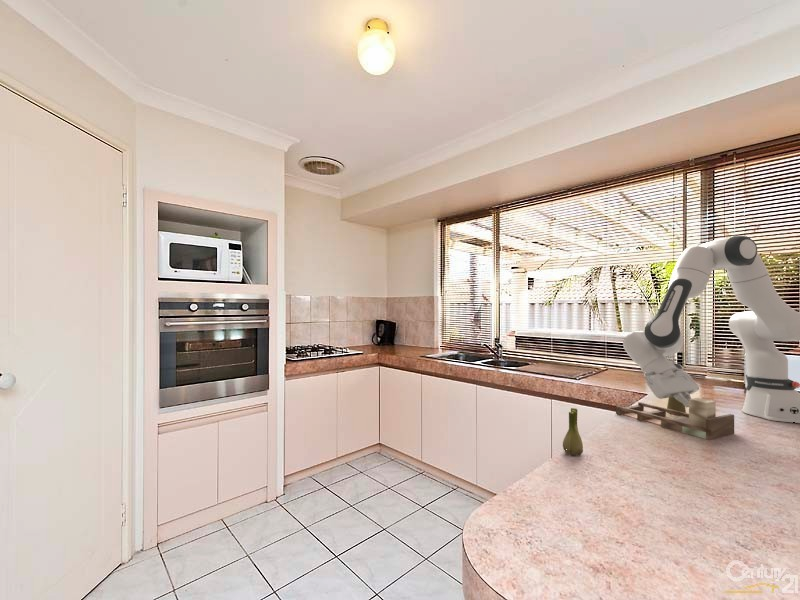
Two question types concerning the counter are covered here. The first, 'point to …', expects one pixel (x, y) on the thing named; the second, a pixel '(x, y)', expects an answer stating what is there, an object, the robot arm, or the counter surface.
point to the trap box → (680, 421)
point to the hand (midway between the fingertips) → (691, 406)
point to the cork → (675, 405)
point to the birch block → (701, 411)
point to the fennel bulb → (573, 436)
